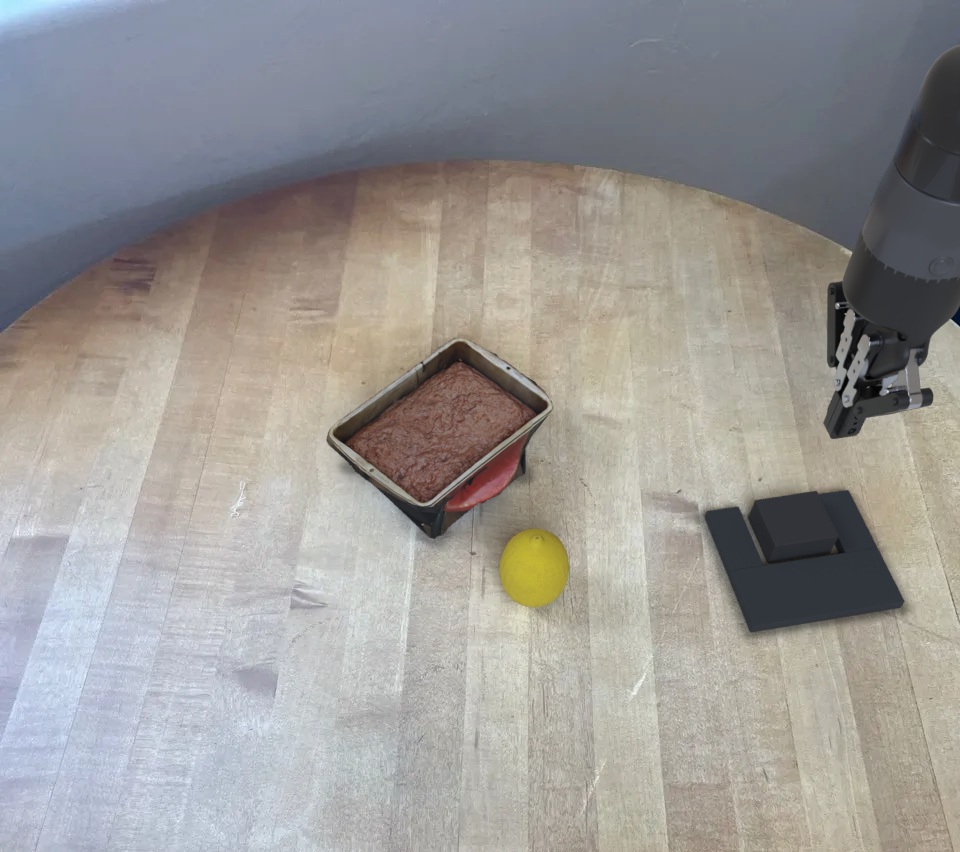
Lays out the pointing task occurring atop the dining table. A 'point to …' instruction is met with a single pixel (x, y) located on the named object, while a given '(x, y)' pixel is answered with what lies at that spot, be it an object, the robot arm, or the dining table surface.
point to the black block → (792, 527)
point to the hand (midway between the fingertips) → (838, 430)
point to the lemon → (534, 568)
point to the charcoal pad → (806, 572)
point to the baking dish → (444, 433)
